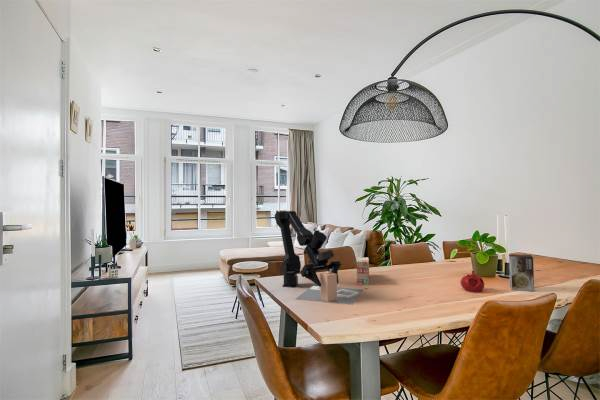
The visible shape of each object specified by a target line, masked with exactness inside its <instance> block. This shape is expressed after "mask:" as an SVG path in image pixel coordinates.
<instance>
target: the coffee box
mask: <svg viewBox="0 0 600 400" xmlns="http://www.w3.org/2000/svg"><path fill="white" fill-rule="evenodd" d="M508 267H509V272H508V273H509V287H510V289H511V290H513V291H520V292H521V291H524V292H535V273H534V271H535V270H534V269H535V268H534V267H535V266H534V257H533V256H532V254H514V253H509V254H508Z"/></svg>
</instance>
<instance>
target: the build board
mask: <svg viewBox="0 0 600 400" xmlns="http://www.w3.org/2000/svg"><path fill="white" fill-rule="evenodd" d="M363 291H364V289H363V288H357V287H356V288H355V287H354V288H353V287H342V286H341V287H339V286H337V300H334V301H329V302H327V301H324V300H322V299H321V287H319V286H318V285H317V284H316V285H313V284H312V285H311V286H309V288H307V289H306V290H305V291H303V292H302V293H301V294H299V295H298V296H297V297H296V298H295V300H299V301H309V302H320V303H329V304H330V303H332V304H343V305H352V306H353V304H354V303H355V302H356V300H357V299H358V297H359V296H360V294H361V292H363Z"/></svg>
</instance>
